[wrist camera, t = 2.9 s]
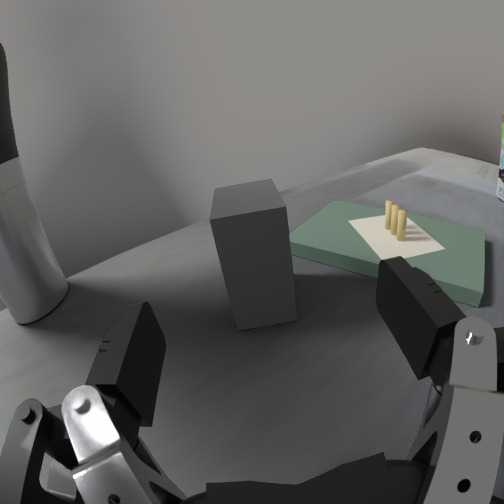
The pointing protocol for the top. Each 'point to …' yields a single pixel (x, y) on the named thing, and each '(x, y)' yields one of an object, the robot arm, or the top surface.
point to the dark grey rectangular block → (255, 253)
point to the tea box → (501, 167)
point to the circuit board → (395, 245)
